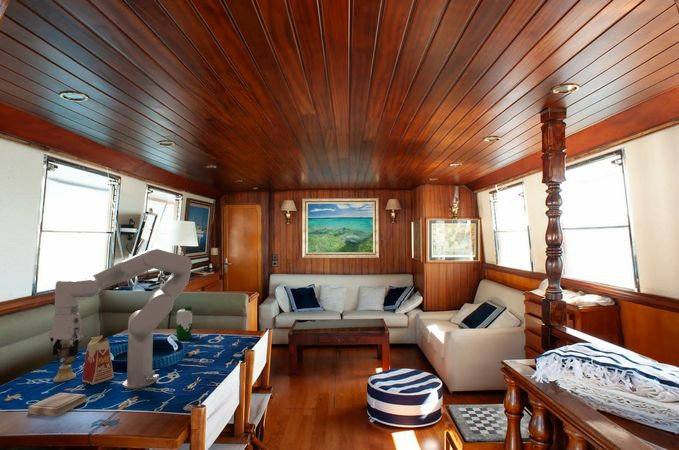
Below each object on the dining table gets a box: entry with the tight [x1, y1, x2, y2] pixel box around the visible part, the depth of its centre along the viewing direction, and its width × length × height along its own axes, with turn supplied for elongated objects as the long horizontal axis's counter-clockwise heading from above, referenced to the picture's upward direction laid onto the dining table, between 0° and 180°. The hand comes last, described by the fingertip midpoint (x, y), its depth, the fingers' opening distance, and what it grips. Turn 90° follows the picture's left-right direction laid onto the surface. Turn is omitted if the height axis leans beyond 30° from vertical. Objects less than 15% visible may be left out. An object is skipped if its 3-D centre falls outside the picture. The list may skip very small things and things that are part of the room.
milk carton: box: [82, 334, 115, 386], centre depth 159 cm, size 9×9×20 cm
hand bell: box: [52, 342, 77, 383], centre depth 161 cm, size 8×8×16 cm
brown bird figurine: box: [56, 346, 78, 365], centre depth 140 cm, size 8×7×9 cm
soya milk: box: [176, 305, 193, 340], centre depth 228 cm, size 9×9×20 cm
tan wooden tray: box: [27, 392, 87, 417], centre depth 132 cm, size 12×12×3 cm
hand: (65, 354), depth 141 cm, fingers closed on brown bird figurine, 7 cm apart
